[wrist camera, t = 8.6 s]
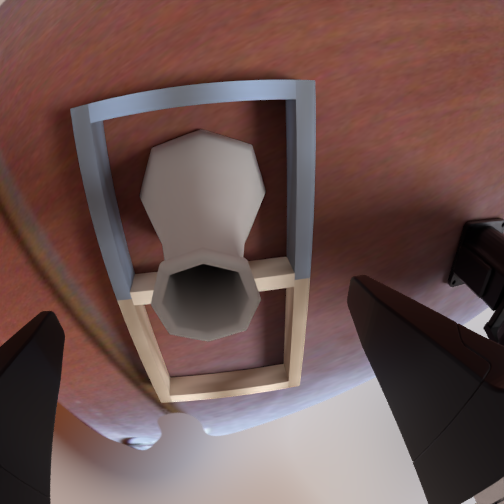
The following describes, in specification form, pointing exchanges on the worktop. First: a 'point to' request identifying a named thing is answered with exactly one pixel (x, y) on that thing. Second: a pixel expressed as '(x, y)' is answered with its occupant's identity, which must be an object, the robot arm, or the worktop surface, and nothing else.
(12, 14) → the worktop surface
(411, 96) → the worktop surface
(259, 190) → the flask
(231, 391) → the caddy
